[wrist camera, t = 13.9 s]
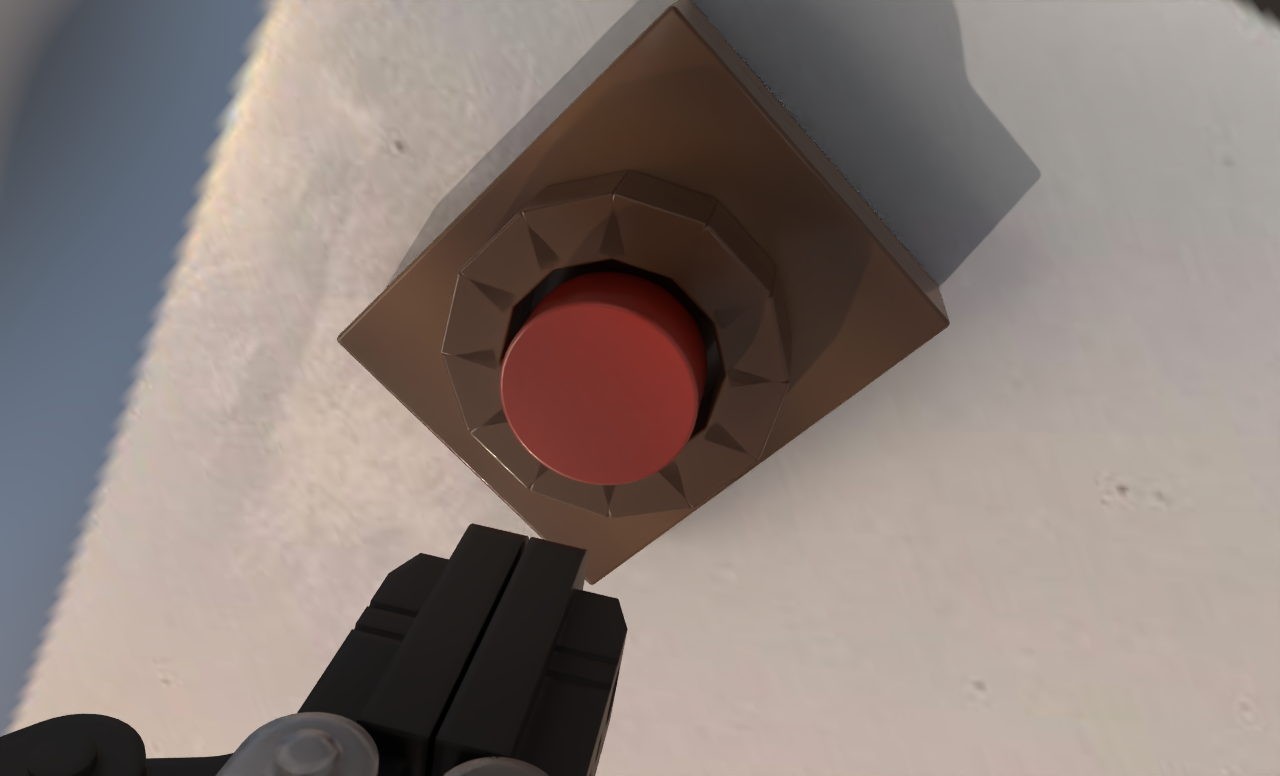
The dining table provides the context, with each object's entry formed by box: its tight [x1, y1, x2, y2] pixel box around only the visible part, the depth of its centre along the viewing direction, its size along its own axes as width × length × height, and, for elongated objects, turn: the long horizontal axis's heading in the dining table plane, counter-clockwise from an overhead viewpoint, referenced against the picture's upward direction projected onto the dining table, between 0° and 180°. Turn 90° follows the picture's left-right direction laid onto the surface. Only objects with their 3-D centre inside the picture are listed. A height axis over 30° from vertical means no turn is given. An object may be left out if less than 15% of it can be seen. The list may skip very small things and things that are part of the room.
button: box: [499, 272, 707, 485], centre depth 19 cm, size 4×4×2 cm
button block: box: [337, 0, 950, 585], centre depth 22 cm, size 10×8×4 cm
